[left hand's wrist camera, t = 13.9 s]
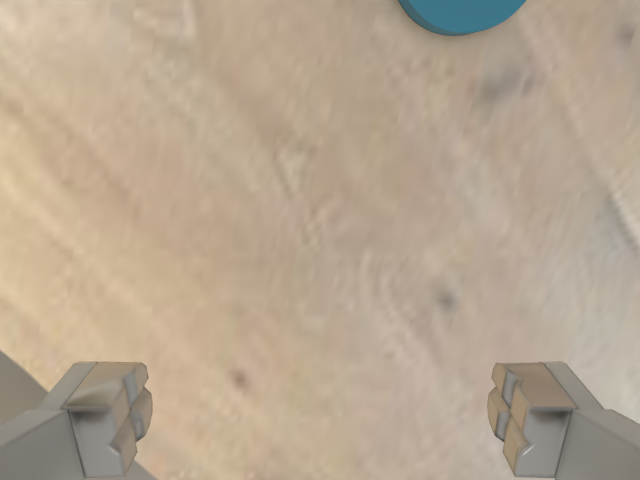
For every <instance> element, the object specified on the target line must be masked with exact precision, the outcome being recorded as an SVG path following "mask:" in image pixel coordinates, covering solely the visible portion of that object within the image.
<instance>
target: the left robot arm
mask: <svg viewBox="0 0 640 480" xmlns="http://www.w3.org/2000/svg"><path fill="white" fill-rule="evenodd" d="M147 380H148V373H147V368H146V365H144V364H143V363H138V362H77V363H75V364H73V365H72V366H71V367H70V369H69V370H68V371H67V372H66V373H65V375H64V376H63V377H62V378H61V379H60V380H59V382H58V383H57V384H56V385H55V386H54V388H53V389H52V390H51V391H50V392H49V394H48V395H47V396H46V397H45V398H44V399H43V401H42V402H41V403H40V404H39V405H38V407H37V408H36V409H34V410H26V411H24V412H22V413H21V414H19V415H17V416H15V417H13V418H11V419H9V420H7V421H5V422H4V423H2V424H0V480H85V478H103V477H125V476H126V474H127V472H128V470H129V468H130V466H131V464H132V462H133V460H134V458H135V456H136V453H137V447H136V442H137V441H139V440H140V439H141V438H143V437H144V436H145V435H146V432H147V430H148V428H149V426H150V421H151V417H152V396H151V393H150V392H149V391H148V390H147V389H146V388H145V387H144V385H145V383H146V381H147ZM492 380H493V381H494V383H495V385H496V387H495V388H494V389H493V390H492V391H491V392H490V393H489V396H488V404H487V408H488V418H489V422H490V425H491V428H492V430H493V432H494V435H495V436H496V437H497V438H499V439H500V440H502V441H503V442H504V447H503V453H504V456H505V458H506V460H507V462H508V464H509V466H510V468H511V470H512V472H513V474H514V476H515V477H536V478H555V480H640V424H638V423H636V422H634V421H633V420H631V419H629V418H627V417H625V416H623V415H621V414H619V413H618V412H616V411H614V410H606V409H604V408H603V407H602V405H601V404H600V403H599V402H598V401H597V399H596V398H595V397H594V396H593V395H592V394H591V392H590V391H589V390H588V389H587V388H586V386H585V385H584V384H583V383H582V382H581V381H580V379H579V378H578V377H577V376H576V375H575V373H574V372H573V371H572V370H571V369H570V368H569V366H568V365H567V364H565V363H563V362H561V361H556V362H539V363H496V364H495V366H494V368H493V372H492Z"/></svg>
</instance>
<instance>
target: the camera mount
mask: <svg viewBox="0 0 640 480" xmlns="http://www.w3.org/2000/svg"><path fill="white" fill-rule="evenodd" d="M398 1H399V2H400V4H401V6H402V7H403V9H404V10H405V12H406V13H407V14H408V15H409V16H410V17H411V18H412V19H413V20H414V21H415V22H416V23H417V24H419V25H420V26H422V27H423V28H425V29H427V30H429V31H432V32H434V33H438V34H442V35H450V36H456V35H465V34H469V33H474V32H478V31H482V30H486V29H488V28H491V27H493V26H496V25H498V24H500V23H501V22H503V21H505V20H506V19H508V18H509V17H510V16H511V15H513V14H514V13H515V12H516V11H517V10H518V9H519V8H520V7H521V6H522V5H523V3H524V2H525V1H526V0H398Z"/></svg>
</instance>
